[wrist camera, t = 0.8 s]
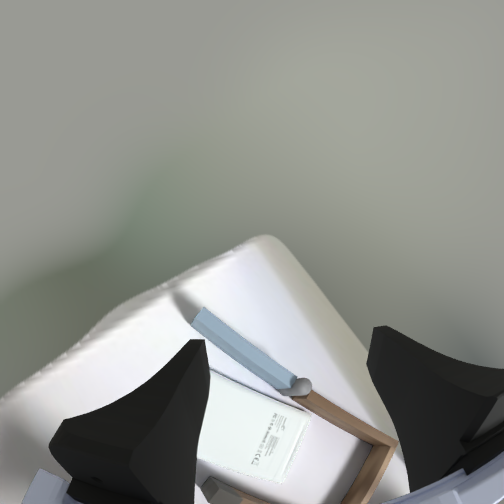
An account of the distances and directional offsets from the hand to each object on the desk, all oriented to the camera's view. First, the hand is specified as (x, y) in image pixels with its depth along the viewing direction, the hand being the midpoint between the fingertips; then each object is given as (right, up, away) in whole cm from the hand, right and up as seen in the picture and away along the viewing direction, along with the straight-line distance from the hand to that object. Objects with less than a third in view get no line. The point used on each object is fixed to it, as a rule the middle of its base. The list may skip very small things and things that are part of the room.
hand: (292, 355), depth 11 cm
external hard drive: (-3, -12, +11) cm, 17 cm away
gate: (-2, -6, +14) cm, 15 cm away
